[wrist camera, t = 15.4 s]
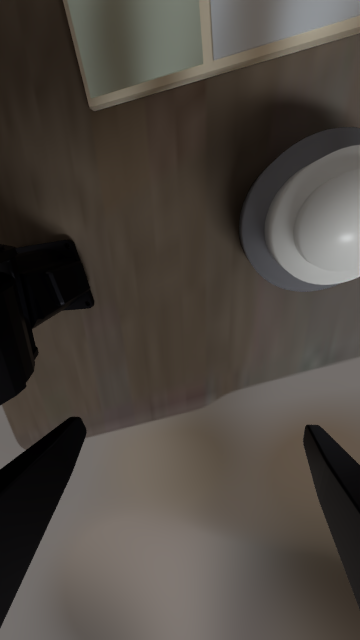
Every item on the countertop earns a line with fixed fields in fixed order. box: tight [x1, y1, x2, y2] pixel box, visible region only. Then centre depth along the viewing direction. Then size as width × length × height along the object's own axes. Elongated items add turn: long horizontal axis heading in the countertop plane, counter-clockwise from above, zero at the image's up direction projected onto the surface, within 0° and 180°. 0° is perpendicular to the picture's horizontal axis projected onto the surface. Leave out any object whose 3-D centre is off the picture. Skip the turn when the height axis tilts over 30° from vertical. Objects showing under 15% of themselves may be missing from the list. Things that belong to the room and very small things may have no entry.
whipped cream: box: [264, 145, 360, 285], centre depth 11 cm, size 6×6×3 cm
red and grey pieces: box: [239, 127, 360, 292], centre depth 14 cm, size 14×9×4 cm, turn 98°
